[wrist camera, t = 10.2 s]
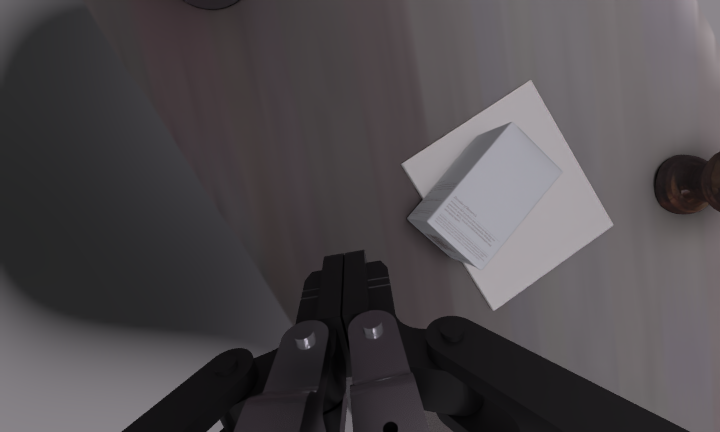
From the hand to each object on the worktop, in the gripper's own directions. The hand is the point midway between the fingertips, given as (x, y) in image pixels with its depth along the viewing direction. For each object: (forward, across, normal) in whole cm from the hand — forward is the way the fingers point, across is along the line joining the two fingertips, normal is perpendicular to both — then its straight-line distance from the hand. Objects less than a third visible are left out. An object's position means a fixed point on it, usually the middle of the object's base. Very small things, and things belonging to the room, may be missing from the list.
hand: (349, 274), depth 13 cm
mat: (+27, -17, +10) cm, 33 cm away
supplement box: (+20, -7, +11) cm, 24 cm away
